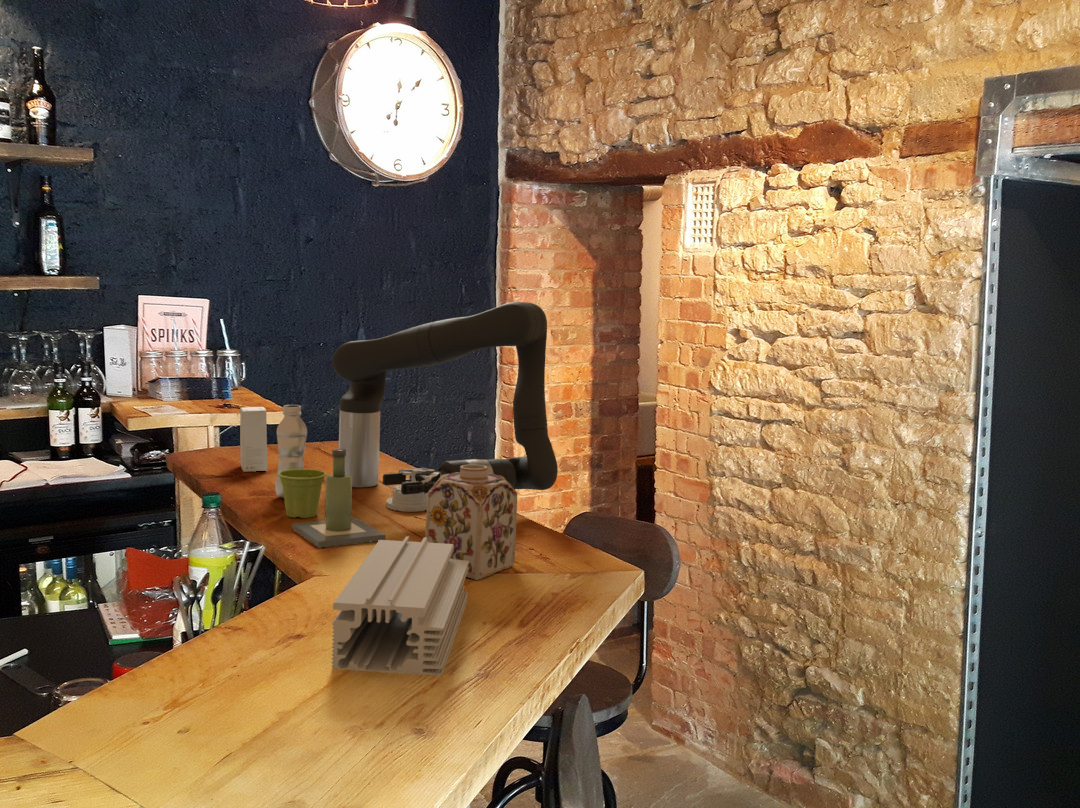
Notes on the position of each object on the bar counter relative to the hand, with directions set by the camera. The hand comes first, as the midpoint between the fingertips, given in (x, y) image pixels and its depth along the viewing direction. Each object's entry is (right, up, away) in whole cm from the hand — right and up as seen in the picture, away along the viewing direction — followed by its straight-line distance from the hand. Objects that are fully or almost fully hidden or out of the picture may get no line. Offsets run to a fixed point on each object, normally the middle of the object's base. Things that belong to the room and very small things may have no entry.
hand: (392, 484), depth 203 cm
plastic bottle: (-25, -5, +23) cm, 34 cm away
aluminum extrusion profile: (+9, -17, -53) cm, 57 cm away
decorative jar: (+16, -13, -21) cm, 30 cm away
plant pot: (-20, -7, +9) cm, 23 cm away
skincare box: (-41, 0, +51) cm, 65 cm away
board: (-10, -9, -5) cm, 14 cm away
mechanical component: (+1, -7, +21) cm, 22 cm away
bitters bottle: (-10, -8, -5) cm, 13 cm away
